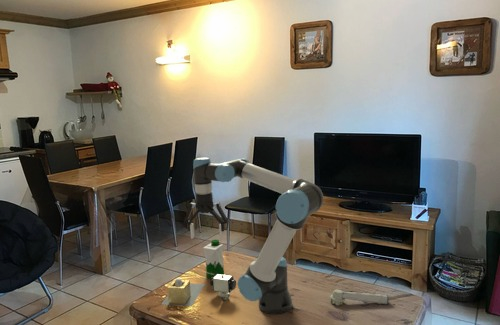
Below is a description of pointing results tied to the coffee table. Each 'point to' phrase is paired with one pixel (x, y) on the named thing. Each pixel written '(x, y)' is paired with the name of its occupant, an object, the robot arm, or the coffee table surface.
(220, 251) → the milk carton
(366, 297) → the beige knobbed bar
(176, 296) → the collar
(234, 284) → the pneumatic valve
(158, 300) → the coffee table surface
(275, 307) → the robot arm
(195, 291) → the post plate
